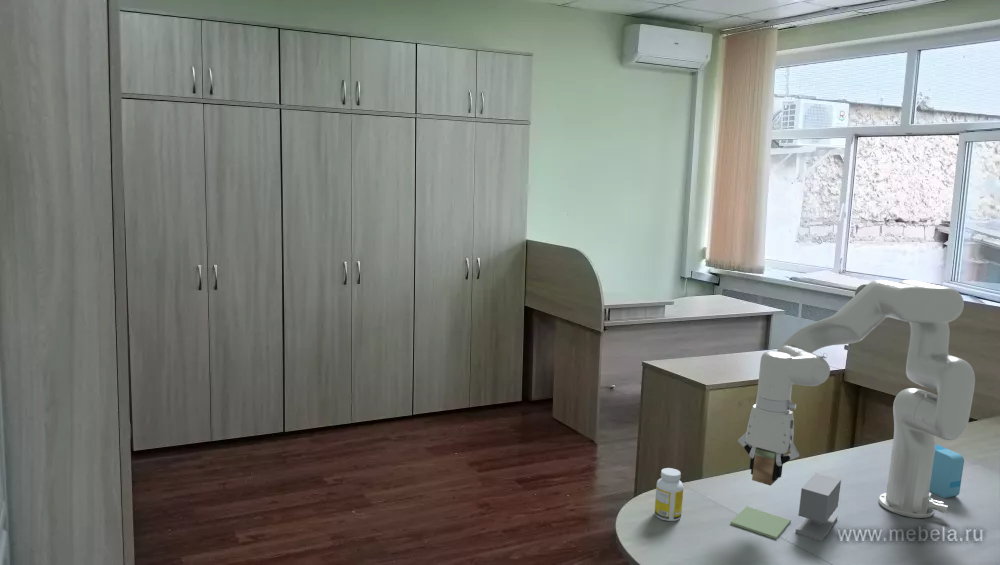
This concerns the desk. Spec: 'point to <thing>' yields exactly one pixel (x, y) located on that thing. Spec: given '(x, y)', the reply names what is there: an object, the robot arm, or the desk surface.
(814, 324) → the robot arm
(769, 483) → the brown and green block
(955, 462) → the data package
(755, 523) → the mat
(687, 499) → the desk surface
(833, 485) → the mounted unit
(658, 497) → the pill bottle
